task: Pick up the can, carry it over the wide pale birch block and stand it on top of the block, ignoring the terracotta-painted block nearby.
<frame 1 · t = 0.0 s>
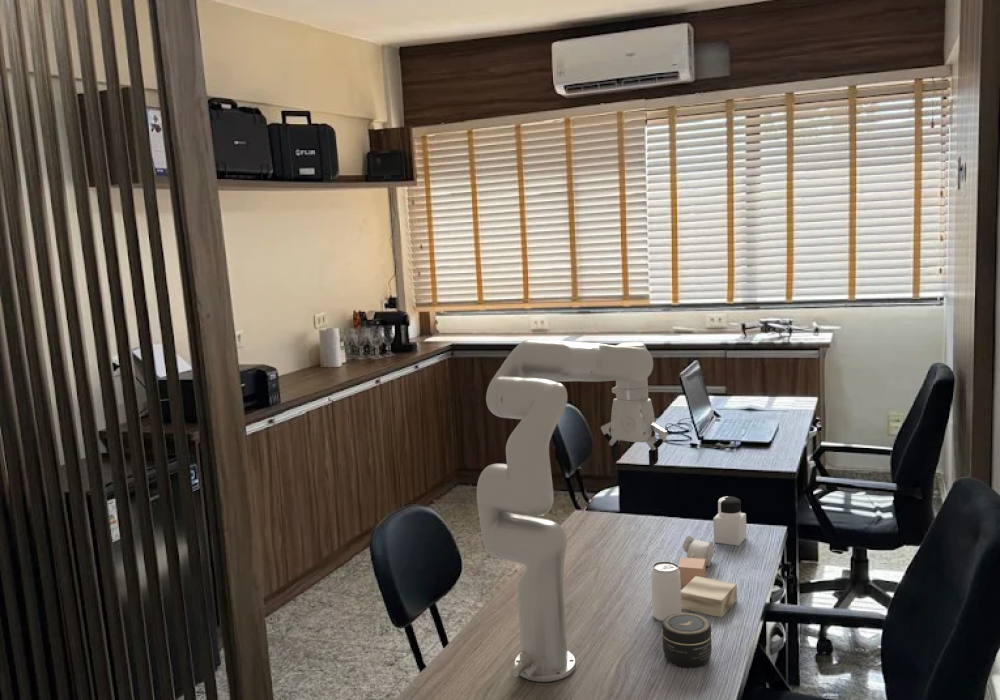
hand: (634, 462, 206), 31 cm above the table, tool pointing down, fingers open, 9 cm apart
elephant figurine: (701, 564, 221), on the table
can: (667, 617, 193), on the table
terracotta block: (692, 582, 211), on the table
medicine bottle: (730, 540, 235), on the table
birch block: (708, 604, 198), on the table
jar: (687, 658, 175), on the table
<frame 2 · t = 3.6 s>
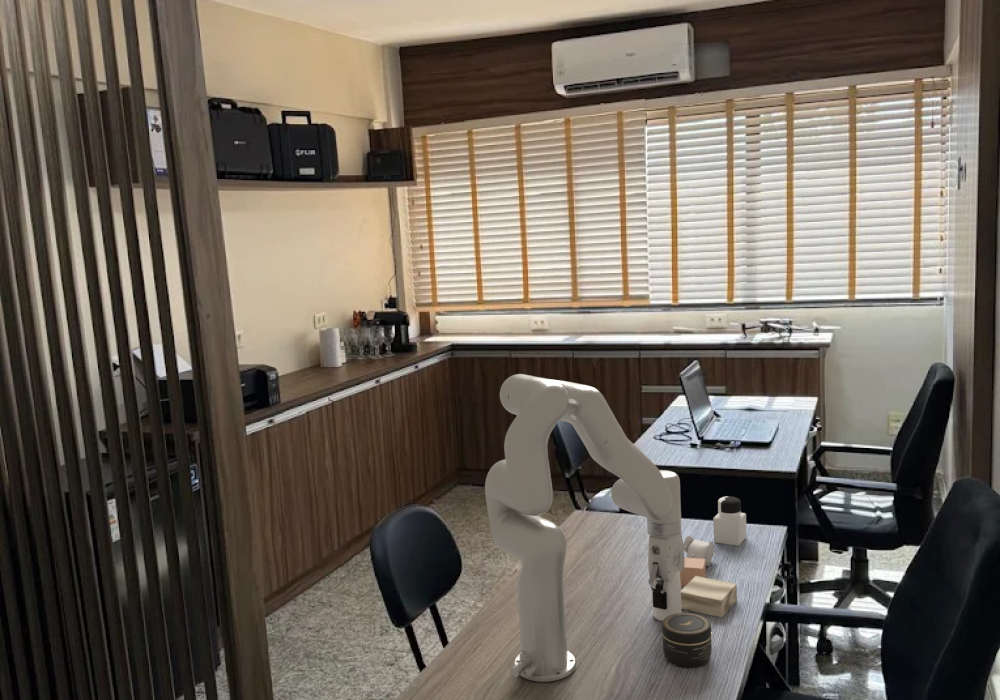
hand: (666, 600, 193), 4 cm above the table, tool pointing down, fingers closed on can, 6 cm apart
can: (667, 617, 193), on the table, touching gripper
everything else where it was.
when the fingers open (9 cm above the table, at t = 10.6 s): can drops 2 cm, resting on birch block.
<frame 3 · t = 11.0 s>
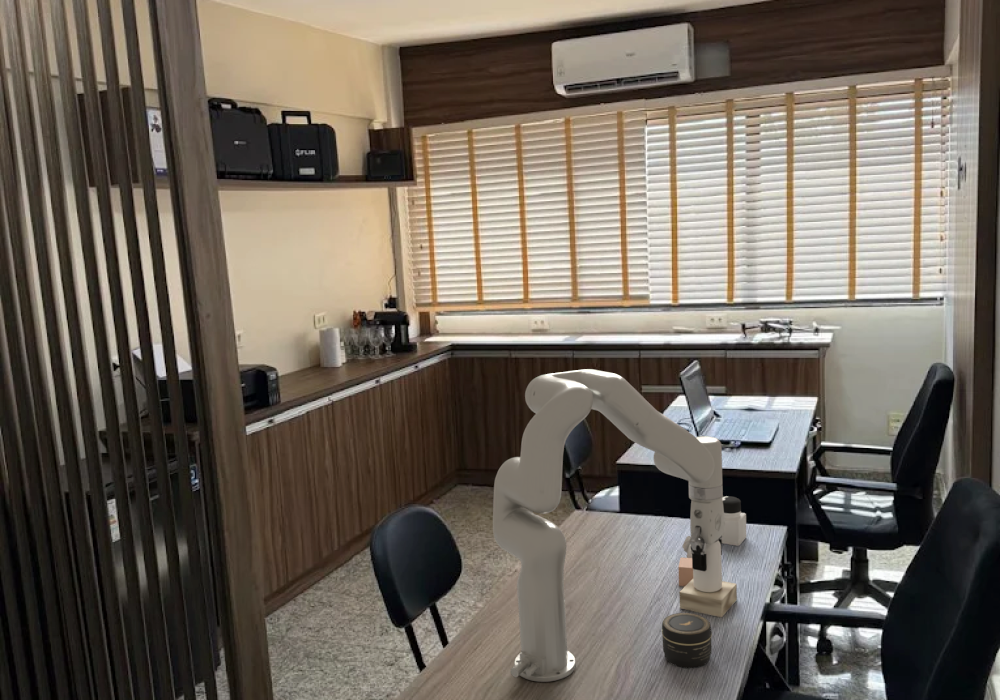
hand: (707, 562, 196), 10 cm above the table, tool pointing down, fingers open, 9 cm apart
can: (707, 588, 198), point 4 cm above the table, touching birch block
everything else where it was.
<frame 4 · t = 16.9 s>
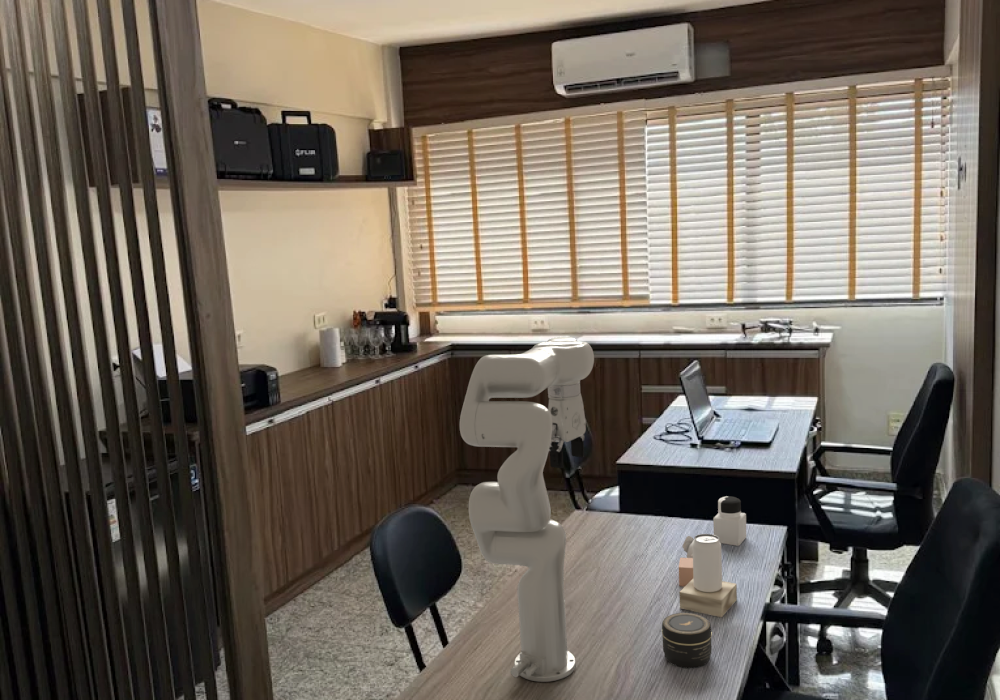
hand: (567, 461, 200), 34 cm above the table, tool pointing down, fingers open, 9 cm apart
nothing on the table moved.
at the end: can inside the target area on the birch block (0.1 cm from its centre), point 3.8 cm above the birch block's base; can tilted 0°; the gripper is holding nothing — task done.
